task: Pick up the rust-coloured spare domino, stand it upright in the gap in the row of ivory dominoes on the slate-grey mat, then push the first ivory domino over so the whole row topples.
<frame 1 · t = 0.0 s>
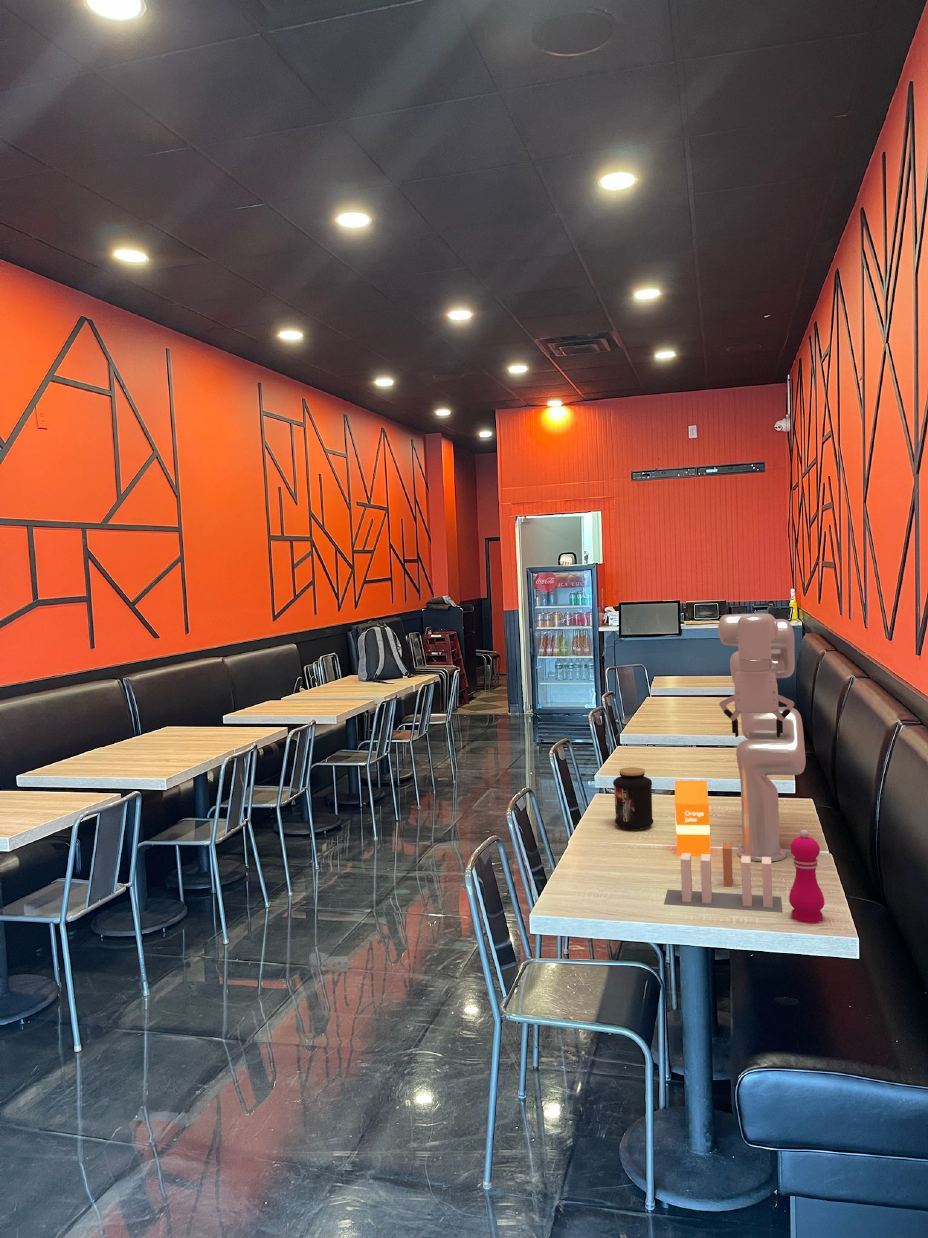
hand: (757, 736, 213), 37 cm above the table, tool pointing down, fingers open, 9 cm apart
orange juice: (693, 852, 242), on the table
domino 4: (747, 902, 202), point 1 cm above the table, touching mat
spare domino: (728, 886, 214), on the table
pepper mill: (807, 921, 191), on the table
domino 2: (707, 899, 204), point 1 cm above the table, touching mat
mat: (722, 903, 203), on the table
container: (634, 827, 269), on the table
domino 5: (767, 903, 200), point 1 cm above the table, touching mat
domino 1: (687, 898, 206), point 1 cm above the table, touching mat
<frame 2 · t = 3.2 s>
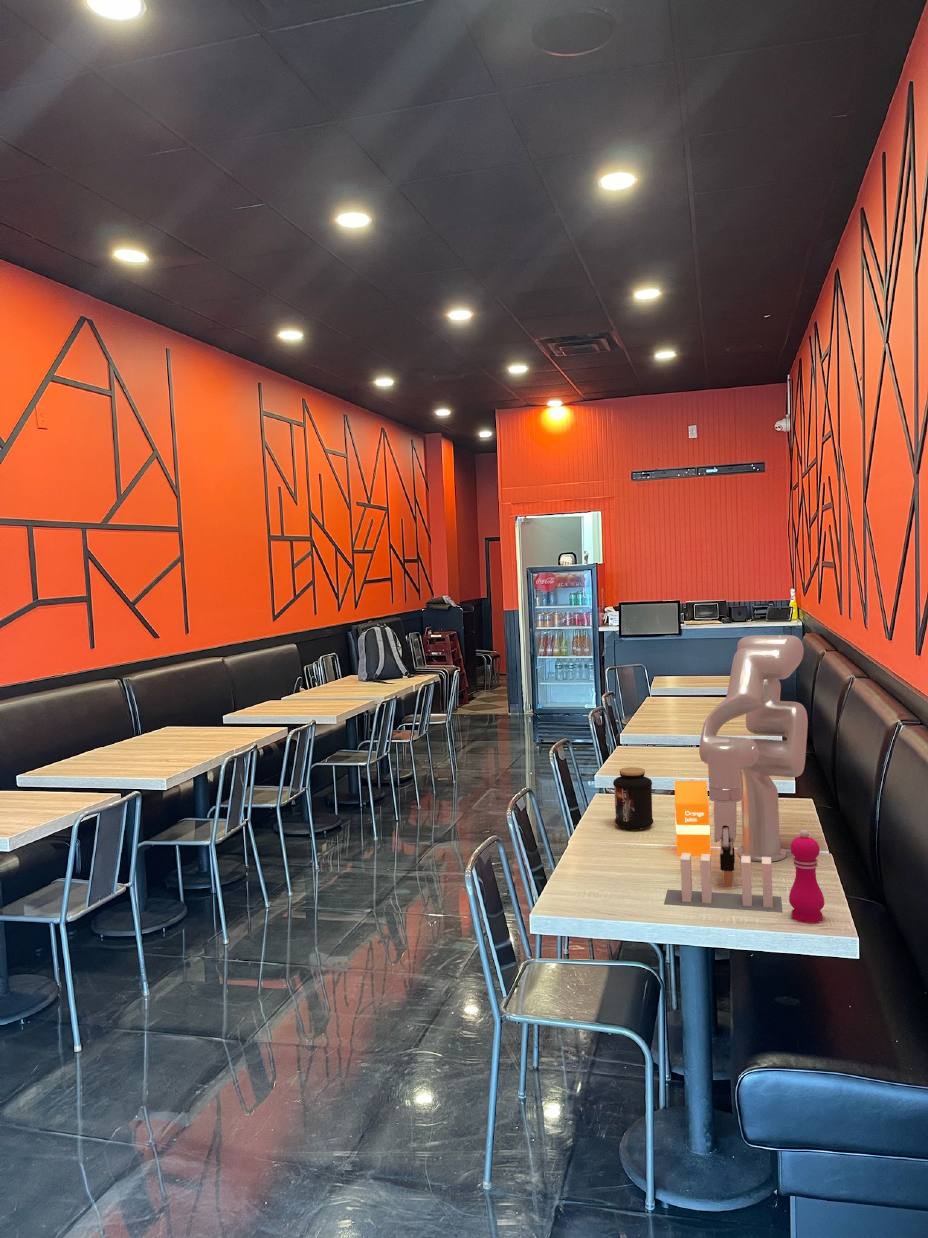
hand: (727, 866, 214), 5 cm above the table, tool pointing down, fingers closed on spare domino, 4 cm apart
spare domino: (728, 886, 214), on the table, touching gripper
everything else where it was.
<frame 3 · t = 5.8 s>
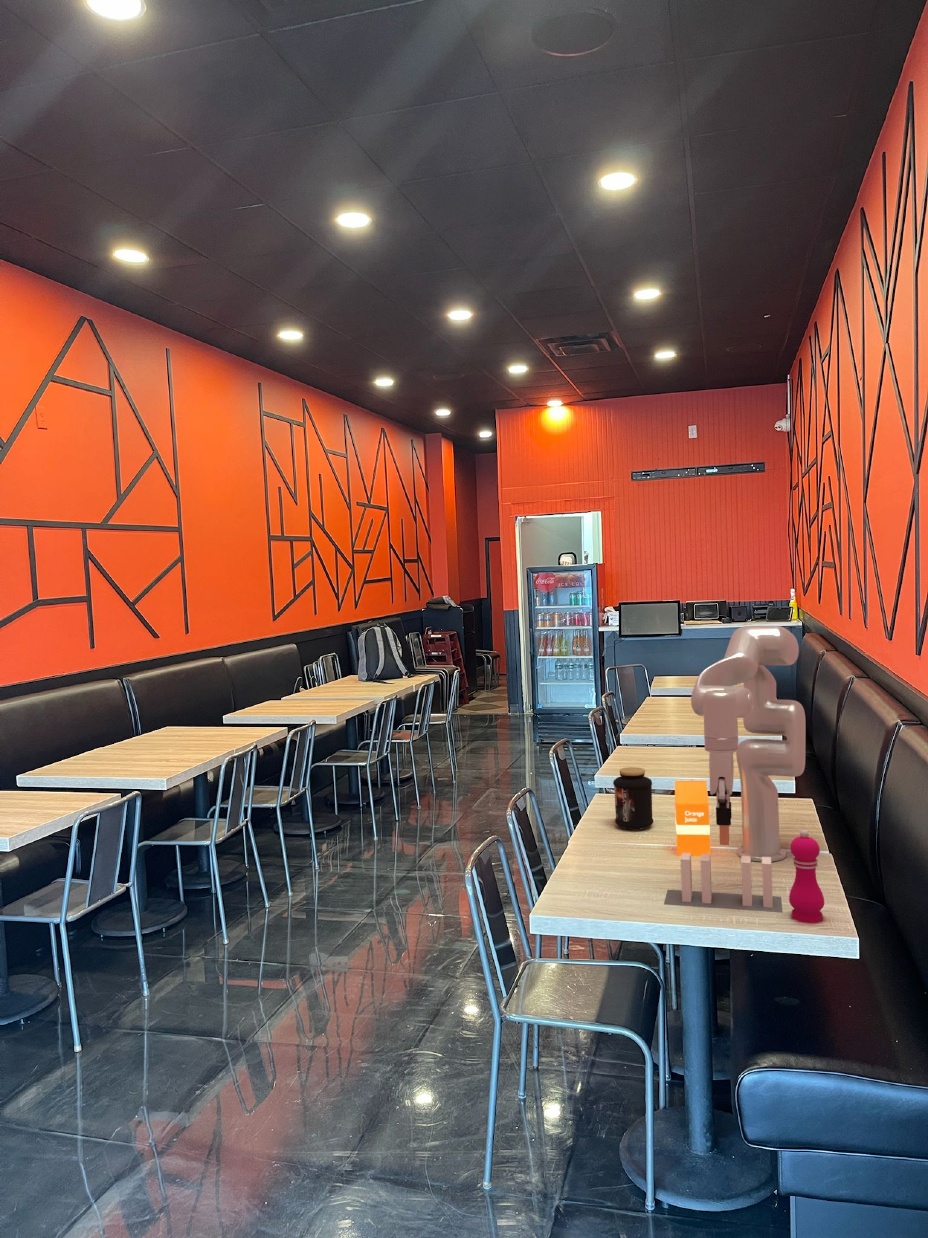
hand: (724, 821, 202), 19 cm above the table, tool pointing down, fingers closed on spare domino, 4 cm apart
spare domino: (724, 842, 202), point 14 cm above the table, touching gripper
everything else where it was.
when the fingers open (6 cm above the table, at t = 8.5 s): spare domino stays where it is, resting on mat.
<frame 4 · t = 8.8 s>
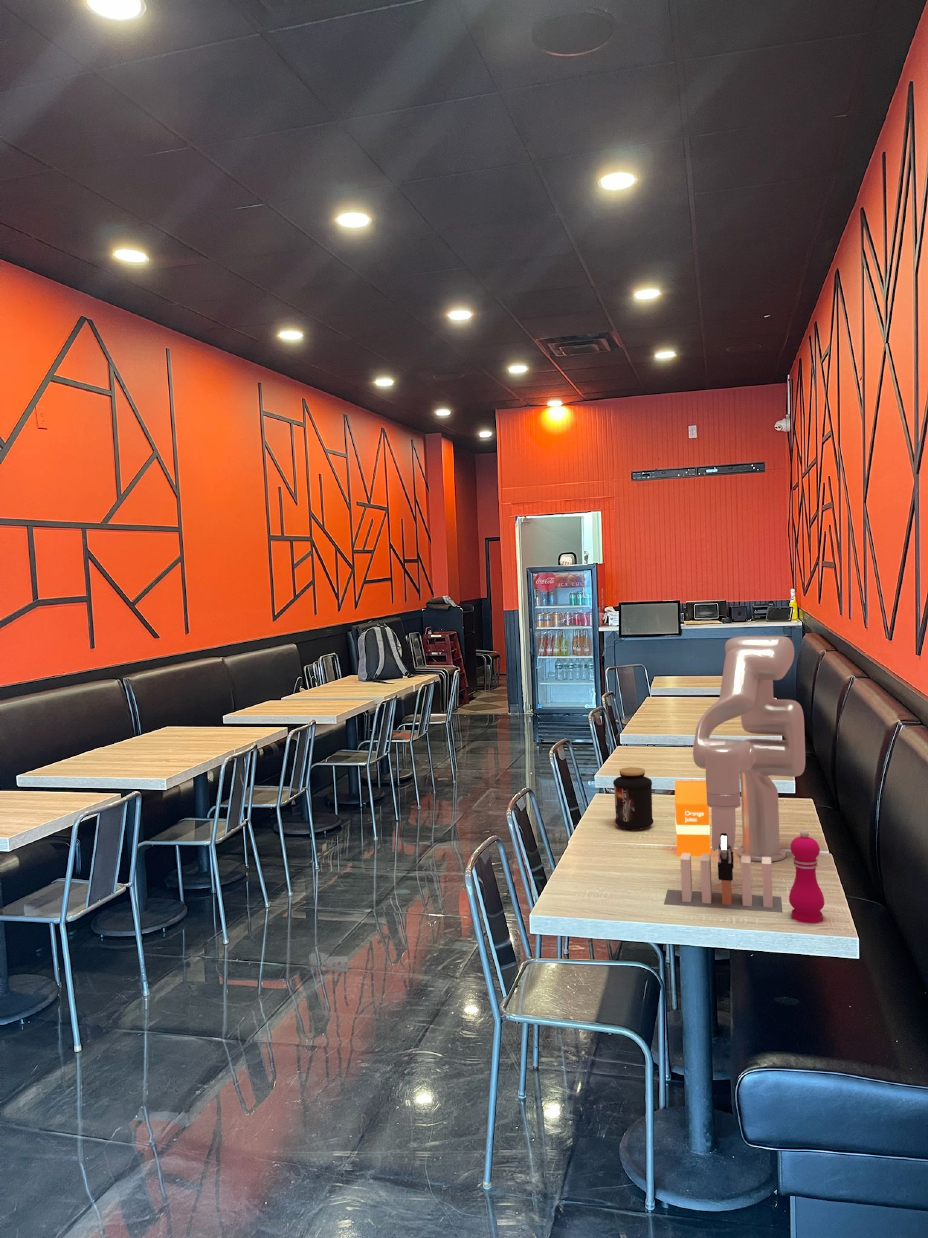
hand: (726, 873, 203), 7 cm above the table, tool pointing down, fingers open, 7 cm apart
spare domino: (727, 900, 203), point 1 cm above the table, touching mat
everything else where it was.
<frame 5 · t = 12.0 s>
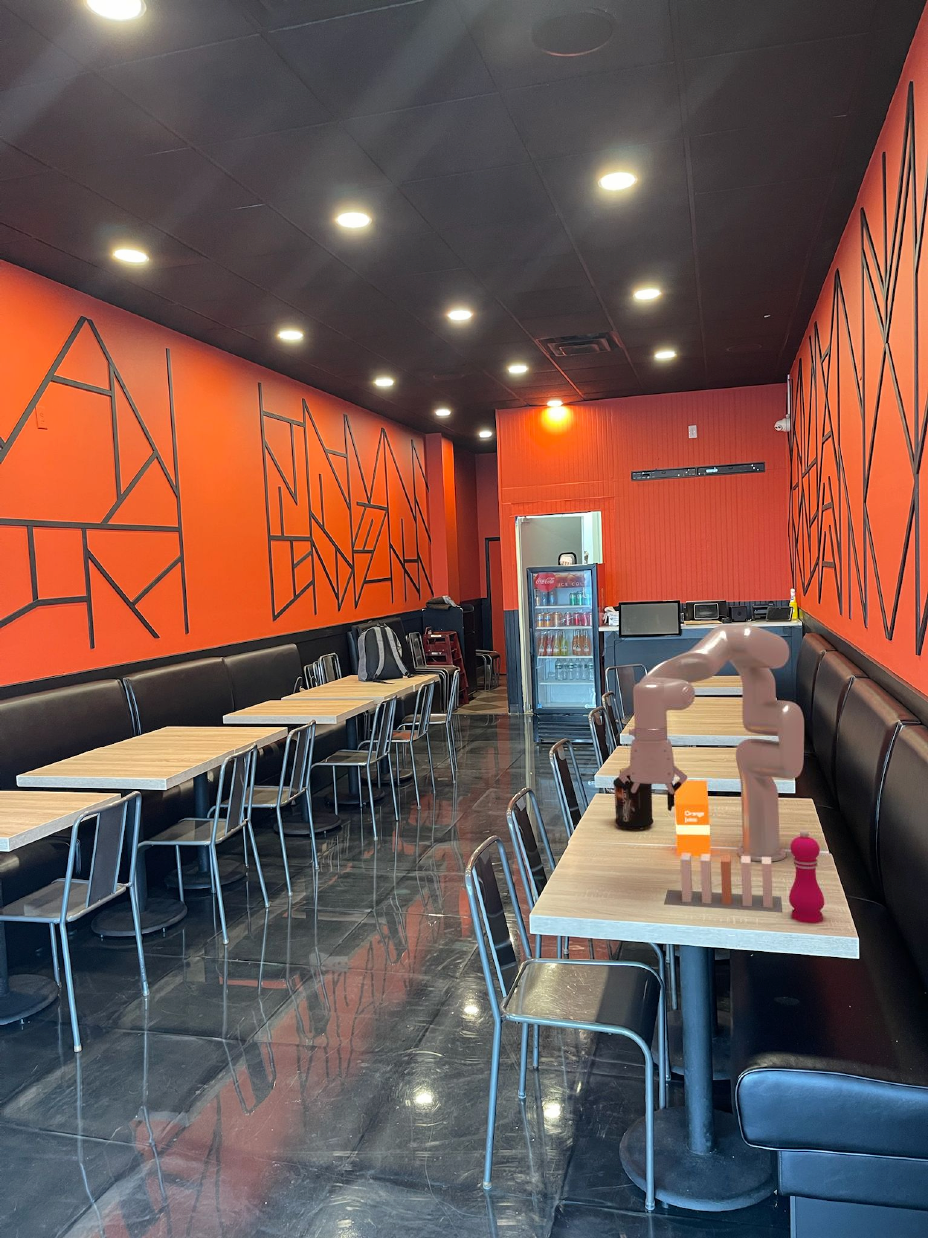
hand: (653, 808, 207), 22 cm above the table, tool pointing down, fingers open, 6 cm apart
nothing on the table moved.
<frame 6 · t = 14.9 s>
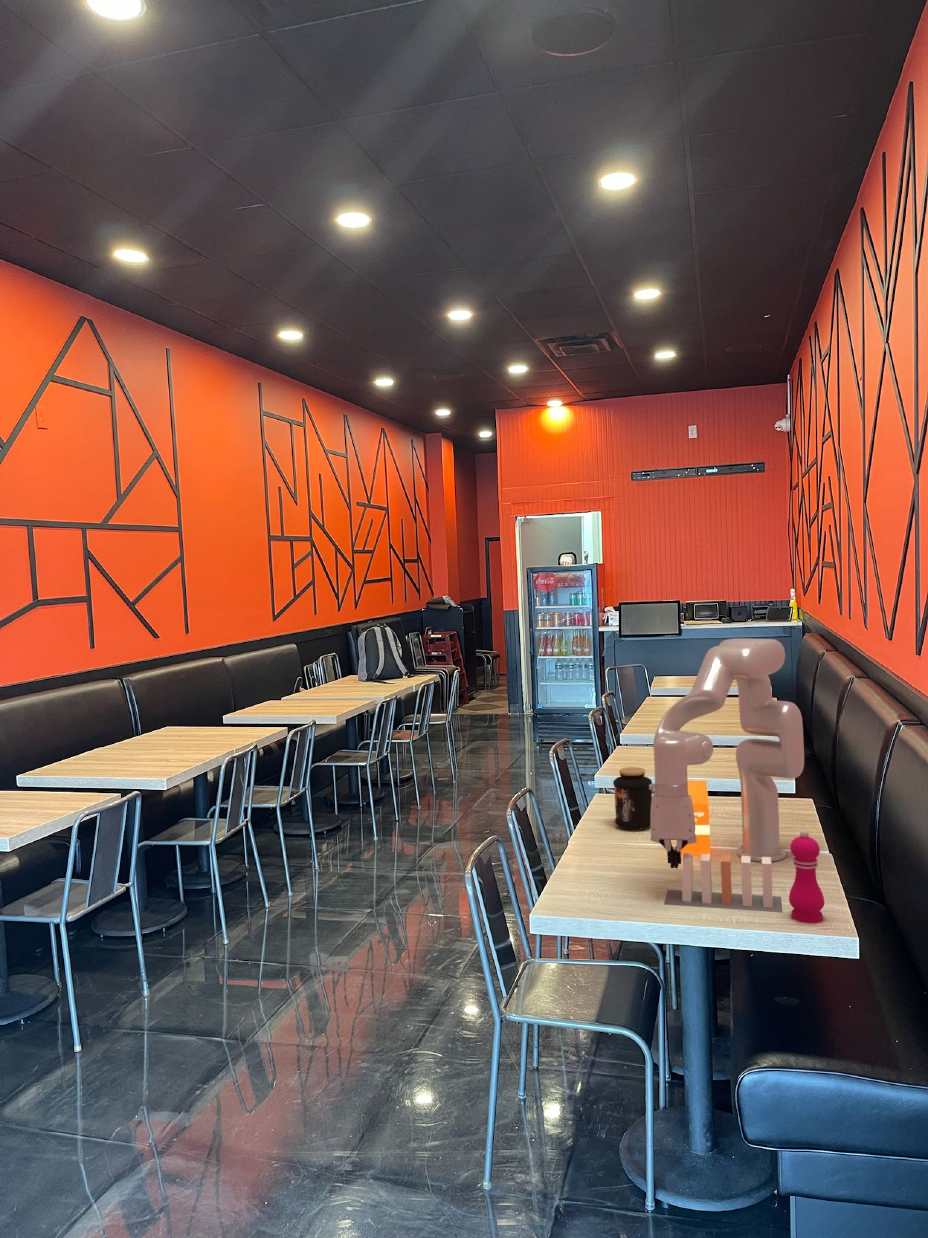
hand: (674, 866, 206), 8 cm above the table, tool pointing down, fingers closed
domino 1: (687, 898, 206), point 1 cm above the table, touching gripper, mat
everything else where it was.
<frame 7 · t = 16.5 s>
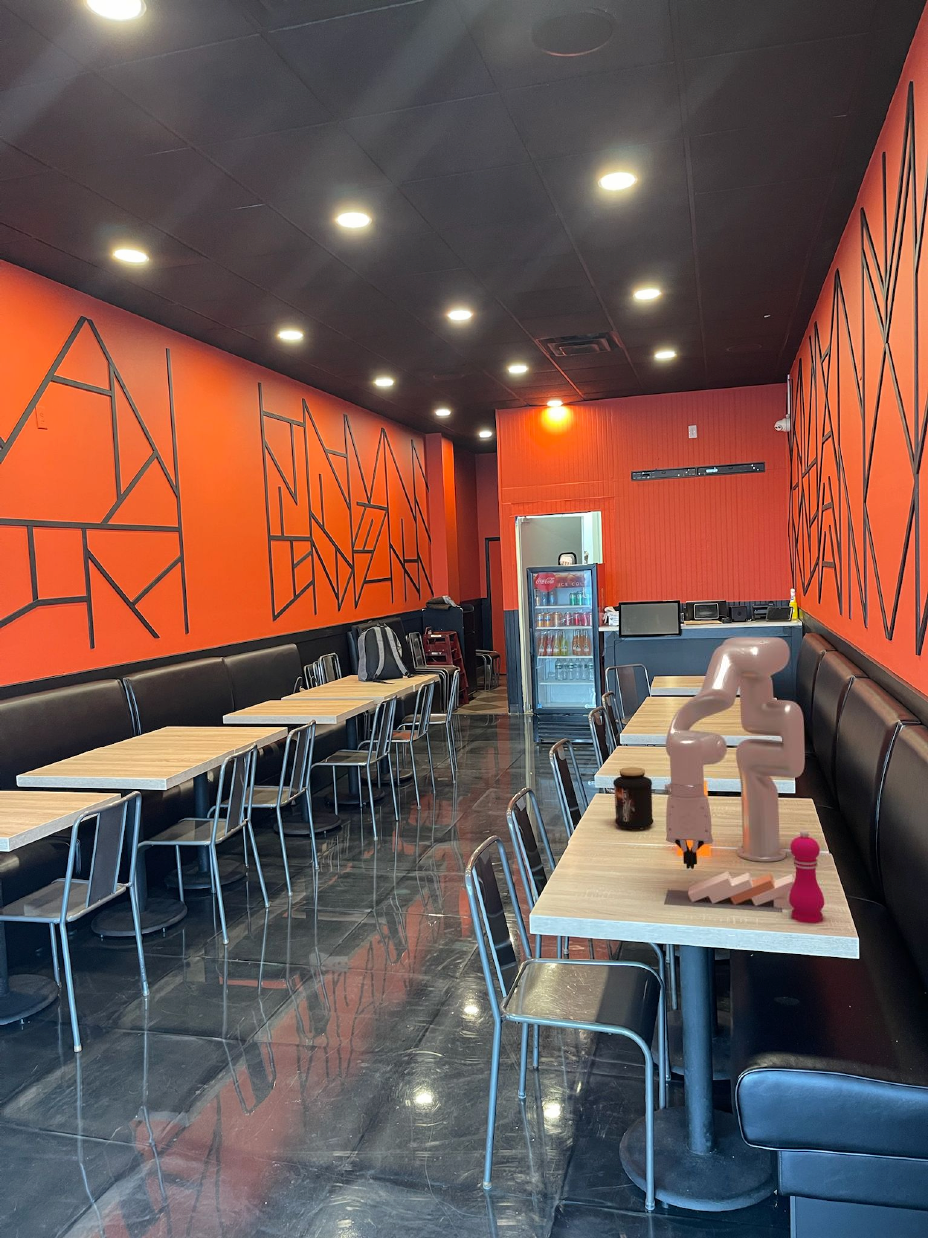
hand: (690, 867, 205), 8 cm above the table, tool pointing down, fingers closed
domino 4: (753, 898, 201), point 2 cm above the table, tilted 63°, touching domino 5, spare domino
spare domino: (732, 897, 203), point 1 cm above the table, tilted 63°, touching domino 2, domino 4, mat
domino 2: (710, 896, 204), point 2 cm above the table, tilted 64°, touching domino 1, mat, spare domino
domino 5: (773, 899, 200), point 2 cm above the table, tilted 94°, touching domino 4, mat
domino 1: (690, 894, 205), point 2 cm above the table, tilted 64°, touching domino 2
everything else where it was.
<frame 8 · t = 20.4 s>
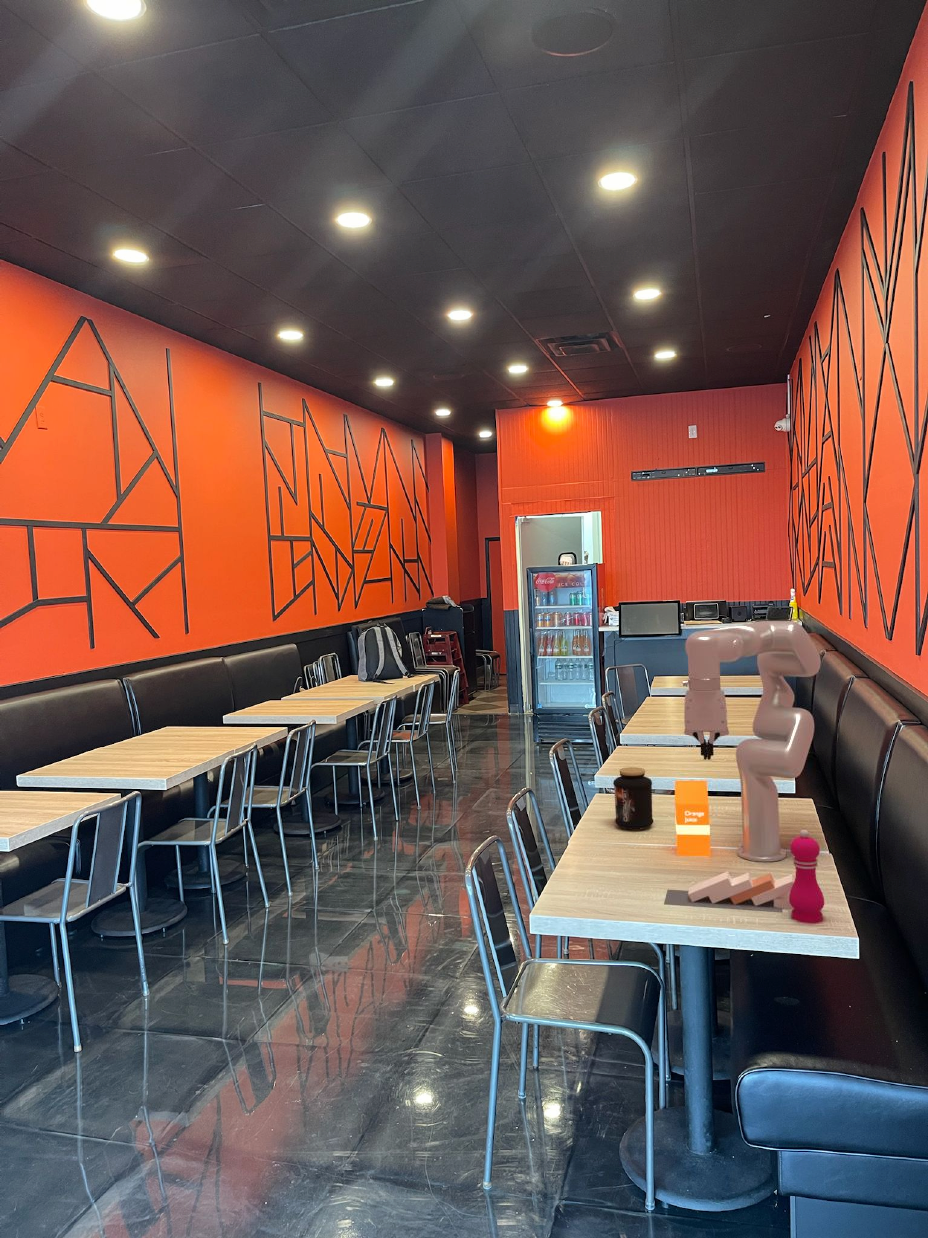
hand: (707, 758, 216), 31 cm above the table, tool pointing down, fingers closed
nothing on the table moved.
at the end: domino 5 tilted 94°; spare domino tilted 63°; spare domino inside the target area (0.7 cm from its centre), point 1.5 cm above the table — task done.
